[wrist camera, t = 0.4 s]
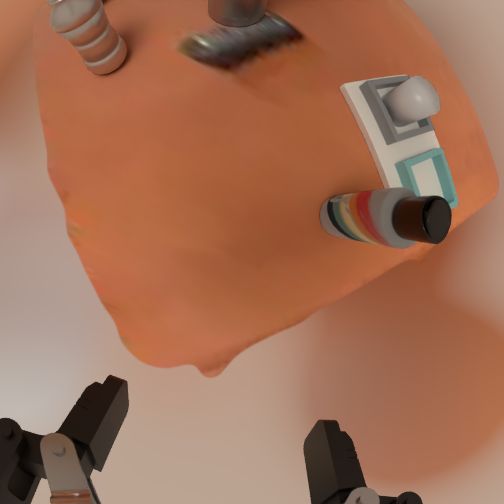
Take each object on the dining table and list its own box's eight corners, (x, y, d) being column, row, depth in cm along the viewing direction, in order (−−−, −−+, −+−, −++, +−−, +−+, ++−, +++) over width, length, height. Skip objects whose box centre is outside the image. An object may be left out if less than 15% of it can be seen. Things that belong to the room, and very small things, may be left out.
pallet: (339, 87, 34) (368, 60, 25) (402, 77, 35) (433, 57, 26) (399, 236, 38) (440, 242, 29) (452, 204, 39) (489, 205, 30)
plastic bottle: (138, 53, 30) (100, -34, 10) (108, 85, 30) (46, 10, 10) (113, 41, 28) (70, -36, 9) (84, 71, 29) (23, 4, 9)
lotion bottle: (337, 187, 36) (440, 168, 16) (361, 216, 37) (468, 222, 17) (310, 215, 36) (405, 217, 16) (336, 244, 37) (438, 272, 17)
